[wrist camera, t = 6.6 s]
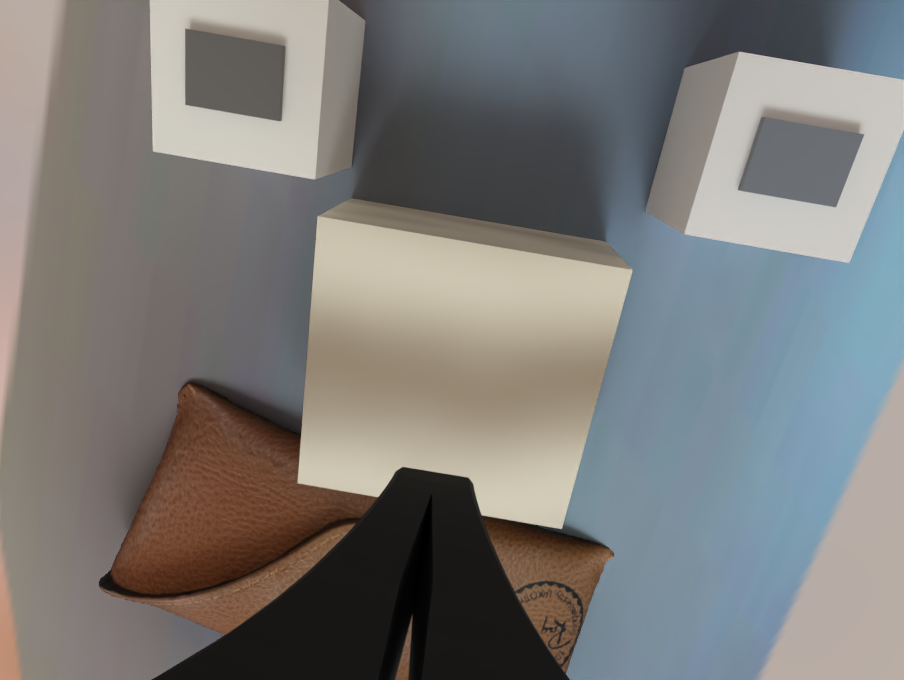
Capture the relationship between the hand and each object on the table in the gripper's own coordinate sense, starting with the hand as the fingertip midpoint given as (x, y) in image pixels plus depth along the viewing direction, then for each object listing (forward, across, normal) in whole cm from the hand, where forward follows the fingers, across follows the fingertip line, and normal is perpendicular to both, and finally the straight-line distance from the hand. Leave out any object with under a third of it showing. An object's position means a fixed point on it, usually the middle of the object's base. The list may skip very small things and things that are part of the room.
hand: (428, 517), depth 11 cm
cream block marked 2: (+10, +6, -7) cm, 13 cm away
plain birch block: (+10, 0, 0) cm, 10 cm away
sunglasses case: (+10, +2, +9) cm, 14 cm away
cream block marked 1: (+10, -7, -7) cm, 14 cm away
